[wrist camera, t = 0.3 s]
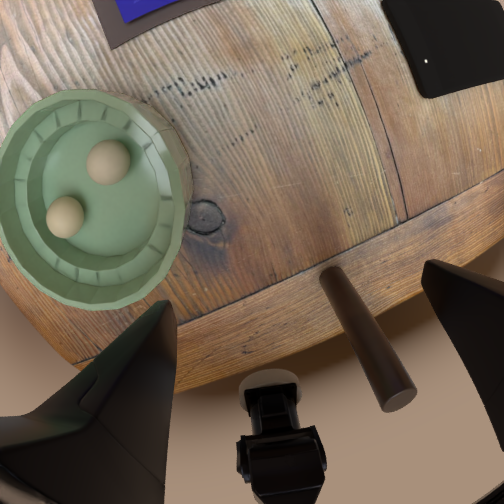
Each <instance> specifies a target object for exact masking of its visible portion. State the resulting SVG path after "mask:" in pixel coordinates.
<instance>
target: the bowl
mask: <svg viewBox="0 0 504 504" xmlns="http://www.w3.org/2000/svg"><path fill="white" fill-rule="evenodd" d="M108 139H112V140H117V141H119V142H121V143H122V144H124V145H125V147H126V148H127V149H128V151H129V154H130V167H129V170H128V172H127V174H126V175H125V177H124V178H123V179H122V180H121V181H119V182H118V183H115V184H113V185H101V184H98V183H96V182H95V181H93V180H92V179H91V177H90V176H89V174H88V172H87V168H86V160H87V156H88V154H89V152H90V150H91V149H92V148H93V147H94V146H95V145H96V144H97V143H99V142H101V141H103V140H108ZM193 189H194V187H193V181H192V175H191V168H190V161H189V157H188V155H187V153H186V151H185V149H184V147H183V145H182V143H181V141H180V139H179V137H178V135H177V133H176V131H175V129H174V127H173V126H172V125H171V124H170V123H169V122H168V121H167V120H166V119H165V118H164V117H163V116H162V115H160V114H159V113H158V112H157V111H156V110H155V109H154V108H153V107H152V106H151V105H149V104H147V103H144V102H142V101H140V100H137V99H135V98H133V97H130V96H128V95H126V94H123V93H117V92H110V91H104V90H97V89H77V90H62V91H60V92H58V93H55V94H53V95H51V96H48V97H46V98H44V99H42V100H40V101H38V102H36V103H34V104H33V105H32V106H31V107H30V108H28V109H27V110H26V111H25V112H24V113H23V114H22V115H21V116H20V117H19V118H18V120H17V121H16V122H15V123H14V124H13V125H12V126H11V128H10V130H9V132H8V134H7V135H6V137H5V139H4V141H3V143H2V145H1V147H0V237H1V240H2V243H3V245H4V247H5V249H6V251H7V252H8V254H9V256H10V257H11V259H12V260H13V262H14V263H15V265H16V267H17V268H18V270H20V272H21V273H22V274H23V275H24V276H25V277H26V278H27V279H28V280H29V281H30V282H31V283H32V284H33V285H34V286H35V287H37V288H38V289H39V290H40V291H41V292H43V293H45V294H47V295H48V296H50V297H52V298H54V299H55V300H57V301H59V302H61V303H63V304H65V305H68V306H73V307H77V308H81V309H85V310H90V311H97V310H111V309H120V308H122V307H124V306H127V305H129V304H131V303H134V302H136V301H138V300H140V299H143V298H144V297H146V296H147V295H148V294H149V293H150V292H151V291H152V290H153V289H154V288H155V287H156V286H157V285H158V284H159V283H160V282H161V281H162V280H163V279H164V278H165V277H166V276H167V274H168V272H169V270H170V268H171V266H172V264H173V262H174V260H175V258H176V256H177V254H178V252H179V250H180V247H181V244H182V241H183V238H184V234H185V231H186V228H187V225H188V222H189V218H190V211H191V204H192V198H193V192H194V190H193ZM64 196H68V197H72V198H74V199H76V200H77V201H78V202H79V203H80V204H81V206H82V208H83V212H84V221H83V225H82V227H81V229H80V230H79V231H78V233H77V234H75V235H74V236H72V237H69V238H59V237H57V236H55V235H54V234H52V232H51V231H50V230H49V228H48V226H47V222H46V214H47V210H48V208H49V206H50V205H51V203H52V202H53V201H54V200H56V199H57V198H60V197H64Z"/></svg>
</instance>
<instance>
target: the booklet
mask: <svg viewBox="0 0 504 504" xmlns="http://www.w3.org/2000/svg"><path fill="white" fill-rule="evenodd" d="M92 1H93V4H94V7H95V10H96V12H97V15H98V18H99V20H100V23H101V25H102V28H103V31H104V33H105V36H106V38H107V41H108V43H109V46H110V48H111V50H112V49H114V48H115V47H117V46H119V45H121V44H122V43H124V42H126V41H128V40H130V39H131V38H133V37H135V36H137V35H139V34H141V33H143V32H145V31H147V30H149V29H151V28H153V27H155V26H157V25H159V24H161V23H164V22H166V21H168V20H170V19H173V18H175V17H177V16H180V15H182V14H185V13H187V12H190V11H192V10H195V9H198V8H200V7H203V6H206V5H209V4H212V3H215V2H218V1H221V0H92Z"/></svg>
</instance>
